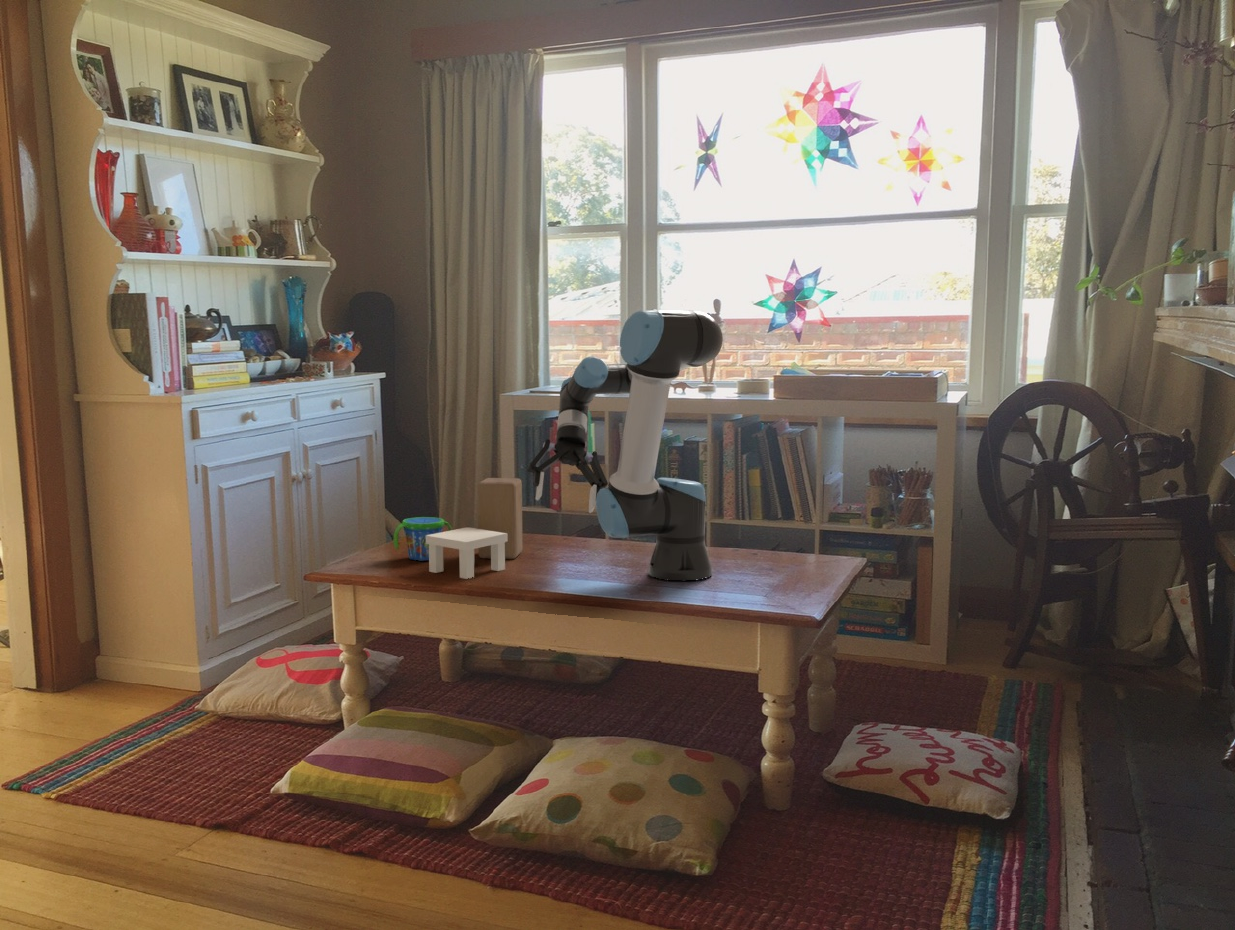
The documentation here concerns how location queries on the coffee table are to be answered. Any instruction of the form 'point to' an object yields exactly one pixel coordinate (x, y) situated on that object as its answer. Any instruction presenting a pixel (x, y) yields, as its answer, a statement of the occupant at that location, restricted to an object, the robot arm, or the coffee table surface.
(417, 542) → the snack cup
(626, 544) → the coffee table surface
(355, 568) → the coffee table surface
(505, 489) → the block
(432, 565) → the footstool
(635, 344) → the robot arm
